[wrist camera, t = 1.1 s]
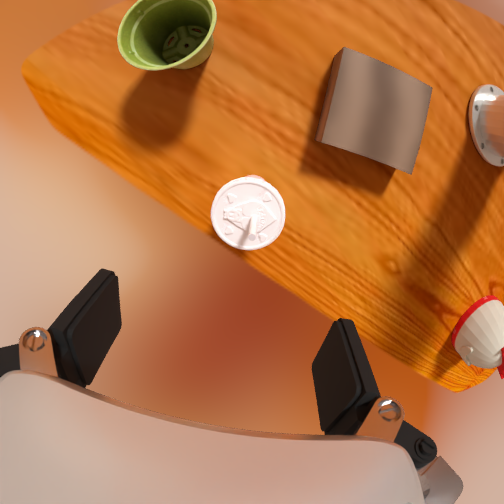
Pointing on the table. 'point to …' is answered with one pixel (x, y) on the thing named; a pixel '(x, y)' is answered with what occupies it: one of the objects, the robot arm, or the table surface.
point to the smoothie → (248, 213)
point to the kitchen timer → (481, 334)
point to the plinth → (374, 110)
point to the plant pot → (167, 33)
